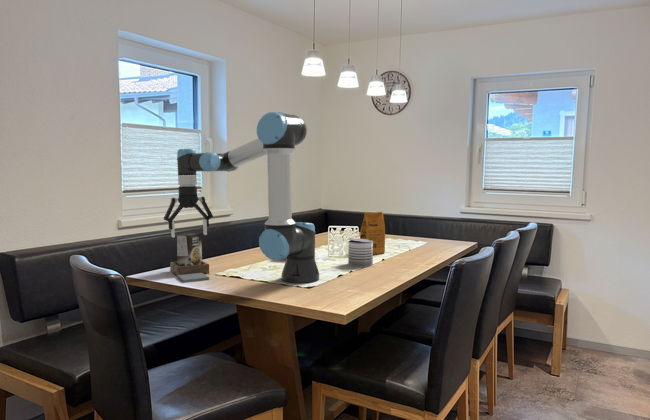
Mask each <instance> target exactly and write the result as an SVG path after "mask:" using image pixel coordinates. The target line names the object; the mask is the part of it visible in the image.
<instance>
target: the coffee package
mask: <svg viewBox="0 0 650 420" xmlns="http://www.w3.org/2000/svg"><path fill="white" fill-rule="evenodd" d="M363 215H364V216H363V220H362V223H361V227H360V233H359V239H367V240H371V241H373V255H382V254H385V253H386V247H385V246H386V224H385V218H384V212H383V211H376V212H370V211H364V213H363Z"/></svg>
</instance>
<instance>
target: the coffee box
mask: <svg viewBox="0 0 650 420" xmlns="http://www.w3.org/2000/svg"><path fill="white" fill-rule="evenodd" d="M202 239H203V238H202V233H201V232H200V233H199V232H198V233H197V232H194V233H193V232H192V233H191V232H190V233H189V232H188V233H183V234H178V235H176V248H177V249H176V251H177V254H176V256H177V260H176V262H177V265H178V266H179V267H182V266H192V265H202V261H203V256H202V255H203V252H202V250H203V247H202V241H203V240H202Z"/></svg>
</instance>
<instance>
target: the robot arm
mask: <svg viewBox="0 0 650 420" xmlns="http://www.w3.org/2000/svg"><path fill="white" fill-rule="evenodd" d="M307 133H308V129H307V125H306V123H305V121H304V120H303V119H302V118H301V117H300V116H297V115H294V114H289V113H284V112H280V111H279V112H278V111H276V112H275V111H271V112H267V113H265V114H263V116H262V117H261V118H260V119H259V120H258V122H257V125H256V136H257V138H256V139H253V140H251V141H249V142H246V143H244V144H242V145H239V146H238V147H237V146H236V147H235V148H233V149H231V150H229V151H227V152H224V153H220V152H219V153H216V152H200V153H199V152H198V153H196V152H197V151H196V149H194V148H179V149H178V150H177V152H176V154H177V155H176V162H177V181H178V182H177V184H178V187H177V188H178V196H177V197H178V198H175V197H171V198H170V204H169V206H168V208H167V210H166V213H165V215H163V216H164V217H163V220H164V221H166V222H167V223H168V230H171V232H170V233H171V234H170V235H171V238H176V235H175V234H176V231H175V229H176V228H175V221H174V219H175V218H176V217H177V216H178V215H179V213H180V212H181V210H183V208H184V209H188V208H189V209H192V208H194V209H195V210H196V211H197V212H198V213H199V214H200V215H201V216H202V217H203V218H204V219H202V225H203V226H202V228H203V229H202V231H203V232H202V234H203V235H204V236H207V235H208V227H209V226H210V221H209V220H210V219H212V218H214V215H213V213H212V211H211V210H210V208H209V206H208V204H207V202H206V198H205V196H200V197H198V187H197V185H198V183H197V182H198V180H197V172H207V173H208V172H229V173H230V172H235V171H236V170H238V169H239V167H240V166H243V165H245V164H248V163H251V162H252V161H255V160H257V159H259V158H260V159H261V158H262V157H264V156H266V157H267V193H268V194H267V196H268V198H267V200H268V202H267V204H268V205H267V206H268V219H267V220H266V221H265V222H264V230H263V232H262V233H261V234H260V235H259V237H258V247H259V249H260V250H261V253H262V254H263V255H264V256H265V257H266V258H267V259H269V260H273V261H277V260H279V261H280V260H285V263H284V266H283V268H282V272H281V280H282V281H284V282H287V283H293V284H294V283H295V284H302V283H303V284H304V283H313V282H317V281H319V279H320V272H319V269H318V266H317V261H316V258H315V257H316V231H315V230H316V227H315V224H314V223H312V222H302V221H295V220H294V219H293V218H292V217H293V216H292V211H293V210H292V208H293V207H292V165H291V162H292V160H291V158H292V157H291V155H292V153H293V152H294V151H295V147H297V146H298V145H300V144H301V143H303V141H304V140H305V139H306V137H307ZM198 201H199V202H200V203H201V205H202V207H203V208H204V210H203V209H202V208H201V207H200V206H199V205H198V204H197V203H198ZM177 202H178V203H179V205H178V206H177V207H176V209H175V210H174V211H173V209H174V207H175V205H176V204H177ZM172 211H173V213H172ZM204 211H205V212H204Z"/></svg>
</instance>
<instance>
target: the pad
mask: <svg viewBox="0 0 650 420" xmlns="http://www.w3.org/2000/svg"><path fill="white" fill-rule="evenodd" d="M176 277H177V279H179V280H180V281H181V282H183V283H192V282H193V283H194V282H199V281H209V280H210V276H208V275H207V274H203V273H193V274H184V275H177V276H176Z"/></svg>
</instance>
